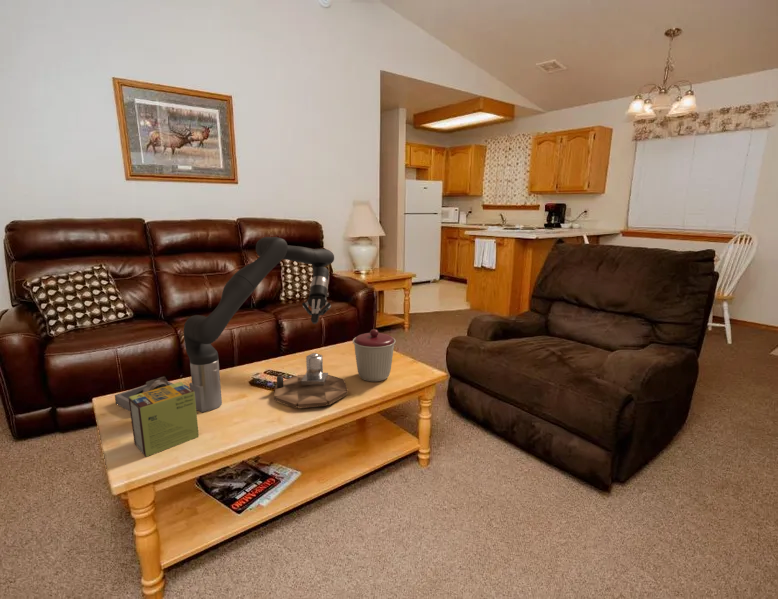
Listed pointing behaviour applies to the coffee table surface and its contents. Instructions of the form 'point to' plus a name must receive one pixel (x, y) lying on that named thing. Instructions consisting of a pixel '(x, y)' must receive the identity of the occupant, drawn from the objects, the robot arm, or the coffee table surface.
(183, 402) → the protein box
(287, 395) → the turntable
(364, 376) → the canister
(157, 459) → the coffee table surface
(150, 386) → the caster wheel
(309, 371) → the silver post on plate
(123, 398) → the chock frame
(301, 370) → the coffee table surface
